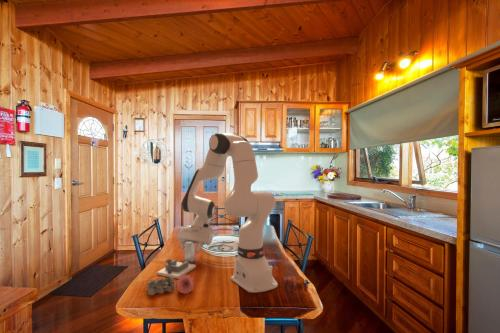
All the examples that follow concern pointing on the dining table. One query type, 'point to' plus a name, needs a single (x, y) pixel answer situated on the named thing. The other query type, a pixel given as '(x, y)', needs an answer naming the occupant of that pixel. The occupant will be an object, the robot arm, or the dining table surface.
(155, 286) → the egg carton
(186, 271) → the keeper board
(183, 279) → the flower
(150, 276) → the dining table surface
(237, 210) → the robot arm
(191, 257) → the end link
